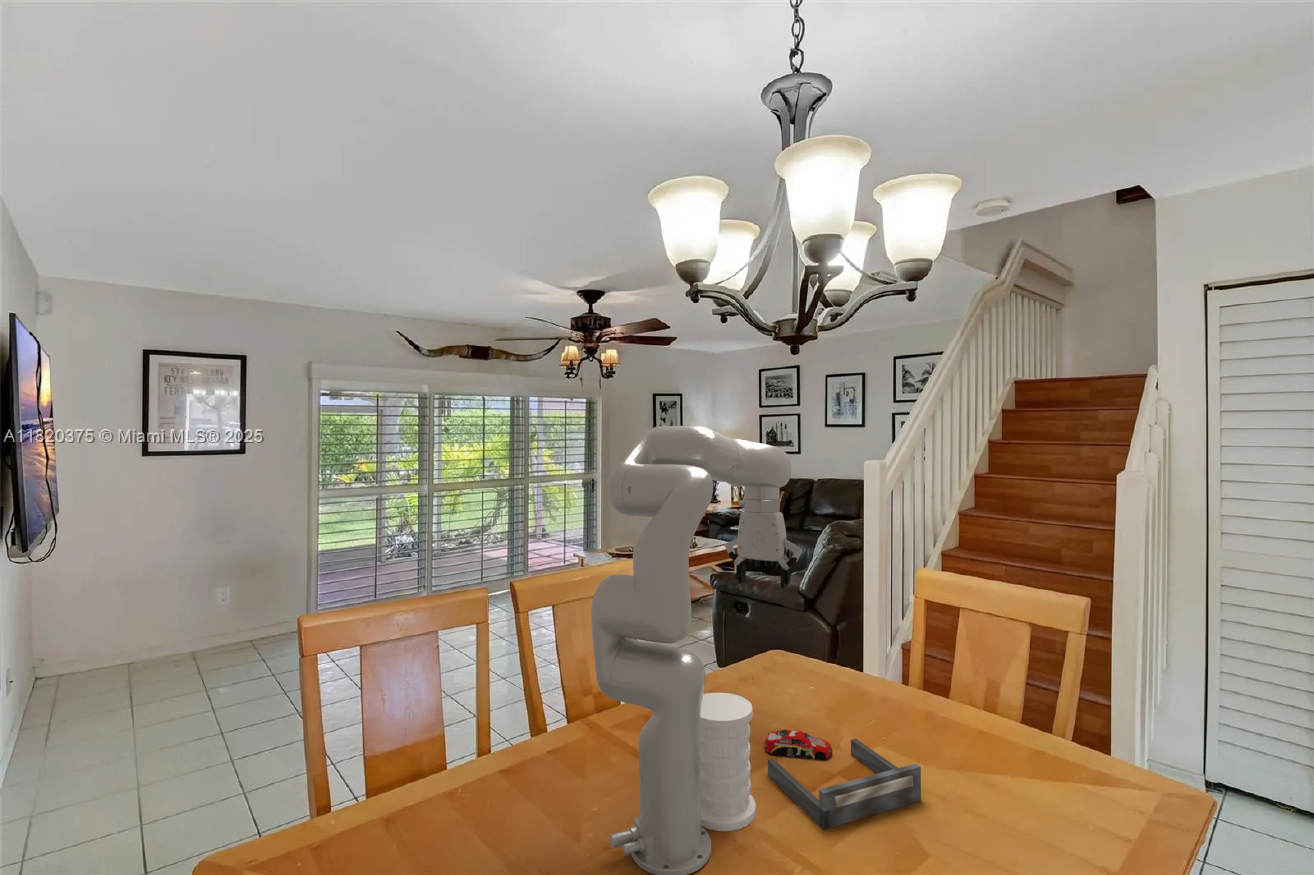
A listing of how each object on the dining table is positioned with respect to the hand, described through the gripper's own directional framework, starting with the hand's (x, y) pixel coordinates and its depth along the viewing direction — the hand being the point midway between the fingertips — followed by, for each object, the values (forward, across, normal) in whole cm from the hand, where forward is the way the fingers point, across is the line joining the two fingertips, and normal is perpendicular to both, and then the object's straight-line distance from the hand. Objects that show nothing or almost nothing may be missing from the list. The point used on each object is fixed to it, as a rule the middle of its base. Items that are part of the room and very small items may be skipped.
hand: (762, 584), depth 136 cm
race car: (+32, +10, -7) cm, 34 cm away
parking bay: (+31, +20, -16) cm, 40 cm away
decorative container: (+31, +3, -32) cm, 45 cm away
